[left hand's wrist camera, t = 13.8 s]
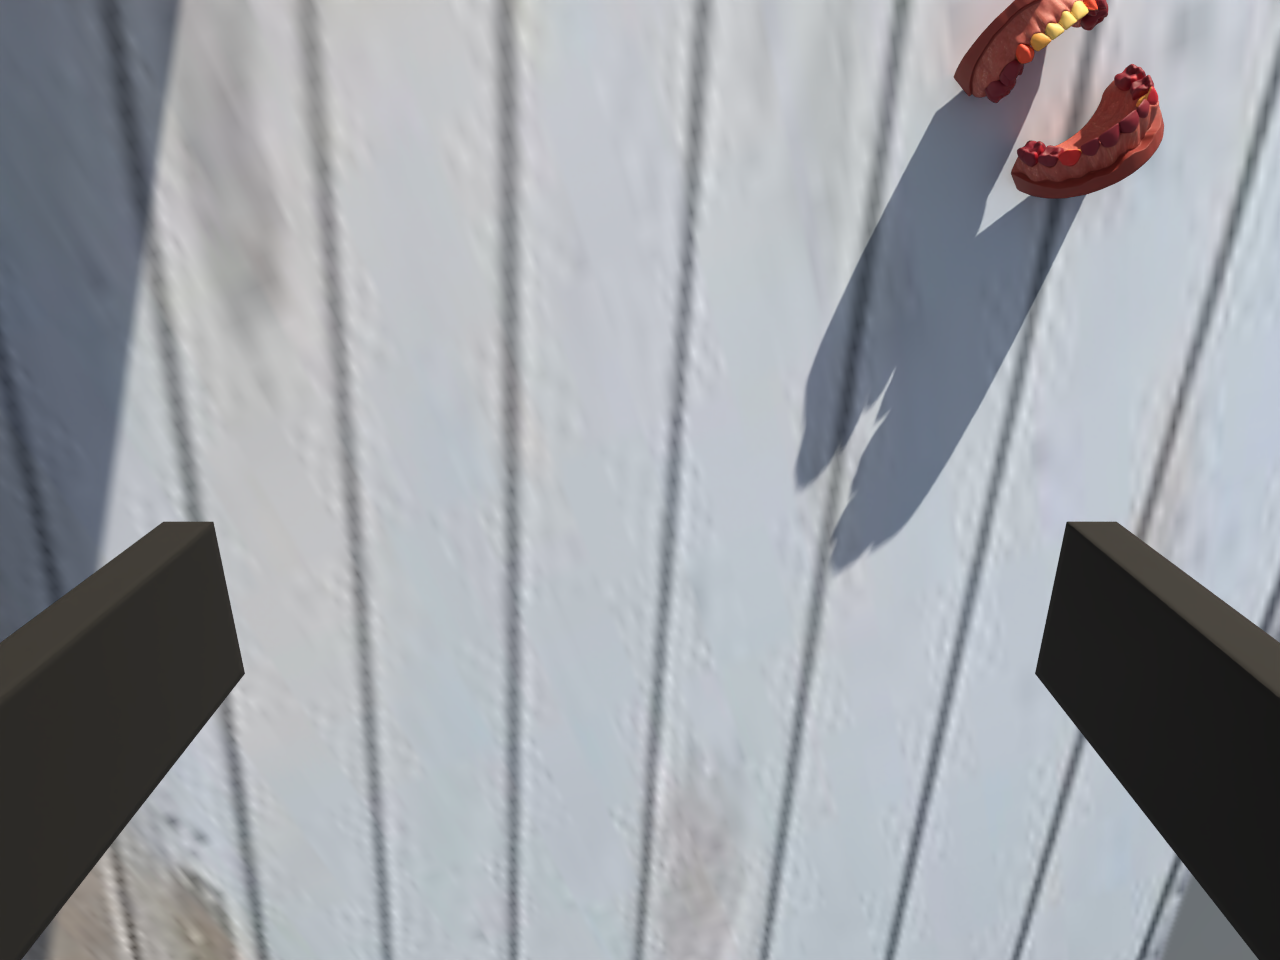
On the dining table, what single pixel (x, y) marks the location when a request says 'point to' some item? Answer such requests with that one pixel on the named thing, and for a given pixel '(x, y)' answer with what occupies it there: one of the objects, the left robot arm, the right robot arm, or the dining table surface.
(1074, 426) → the dining table surface
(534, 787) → the dining table surface
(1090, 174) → the dental model
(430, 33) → the dining table surface
